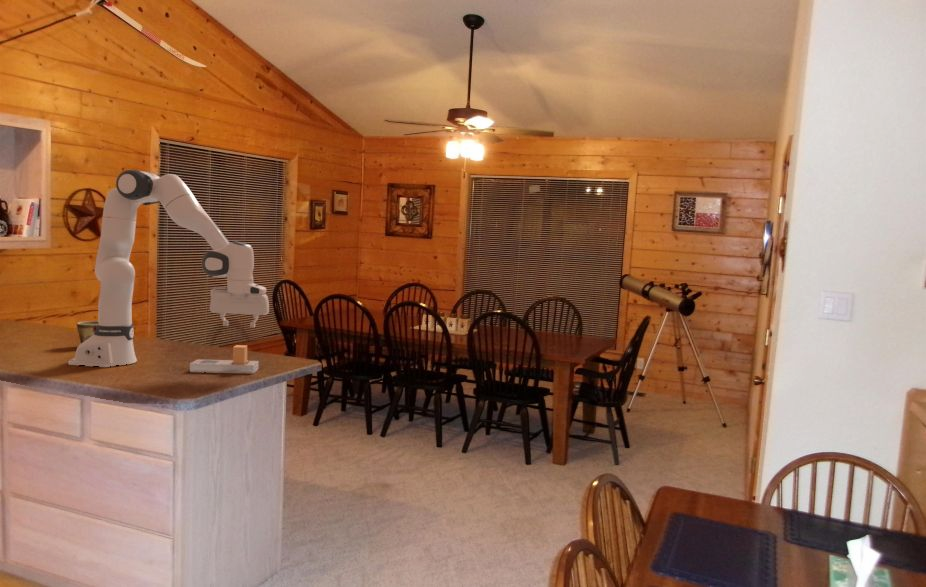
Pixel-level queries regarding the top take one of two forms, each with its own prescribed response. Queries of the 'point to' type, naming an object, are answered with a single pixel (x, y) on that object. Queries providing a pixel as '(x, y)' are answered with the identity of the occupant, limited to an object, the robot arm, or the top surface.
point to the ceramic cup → (86, 329)
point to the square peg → (240, 354)
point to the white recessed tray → (223, 366)
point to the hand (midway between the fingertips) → (239, 326)
